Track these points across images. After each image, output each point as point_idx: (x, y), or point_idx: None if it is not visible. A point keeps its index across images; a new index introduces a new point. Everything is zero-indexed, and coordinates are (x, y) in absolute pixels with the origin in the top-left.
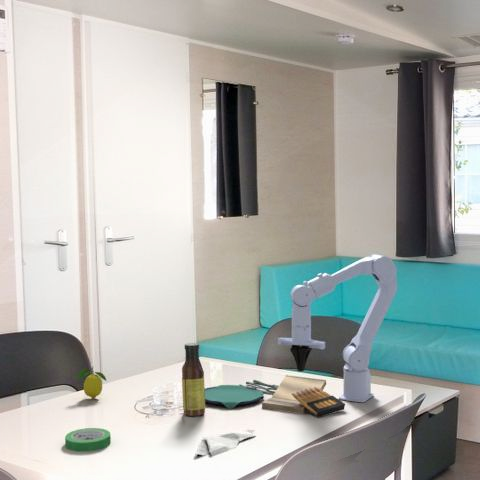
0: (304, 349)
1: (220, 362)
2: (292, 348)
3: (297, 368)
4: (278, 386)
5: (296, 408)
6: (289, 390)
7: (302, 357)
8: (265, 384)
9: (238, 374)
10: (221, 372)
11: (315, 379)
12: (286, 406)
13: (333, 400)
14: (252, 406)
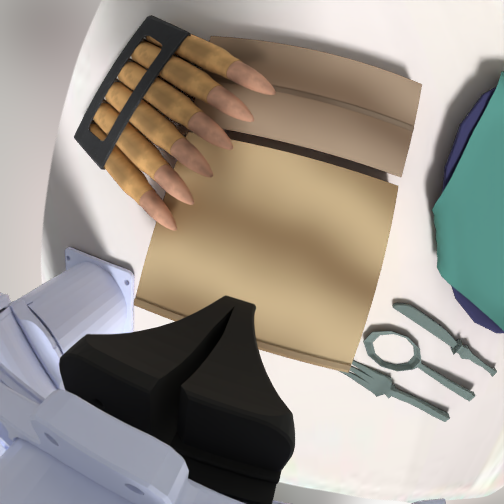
0: (68, 356)
1: (471, 491)
2: (261, 449)
3: (252, 309)
4: (374, 391)
5: (245, 40)
6: (316, 232)
7: (159, 333)
8: (417, 400)
9: (464, 454)
10: (494, 451)
11: (181, 315)
12: (295, 47)
13: (101, 140)
14: (454, 109)
